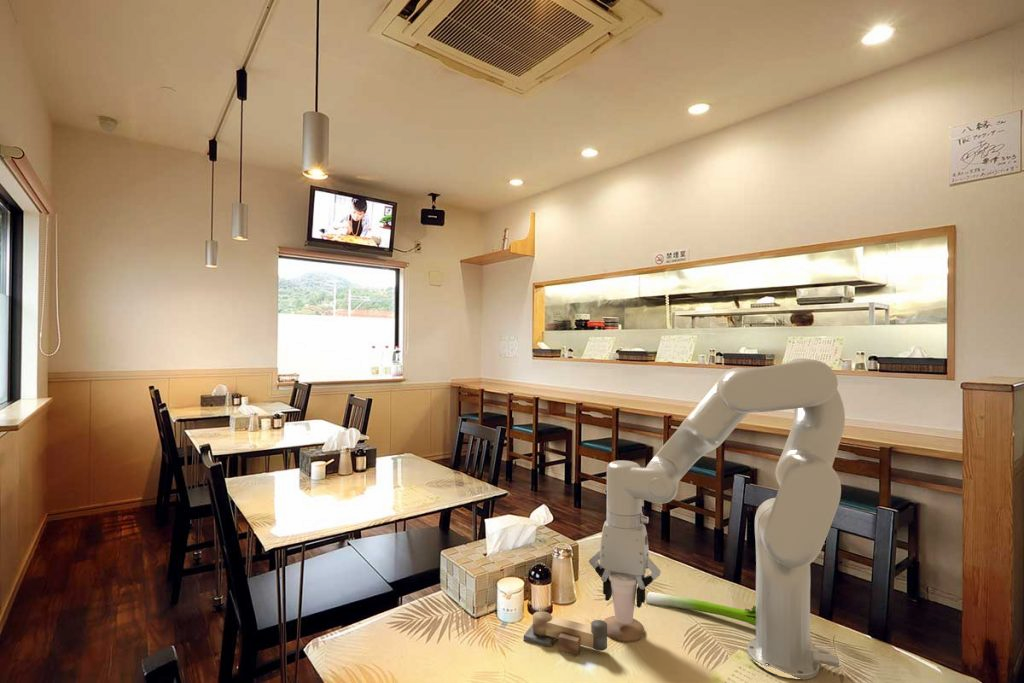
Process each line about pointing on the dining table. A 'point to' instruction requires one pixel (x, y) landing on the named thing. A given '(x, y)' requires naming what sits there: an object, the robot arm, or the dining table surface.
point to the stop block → (569, 644)
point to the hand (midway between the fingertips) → (623, 600)
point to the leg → (571, 629)
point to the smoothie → (623, 596)
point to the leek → (702, 607)
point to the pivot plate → (538, 638)
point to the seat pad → (624, 630)
